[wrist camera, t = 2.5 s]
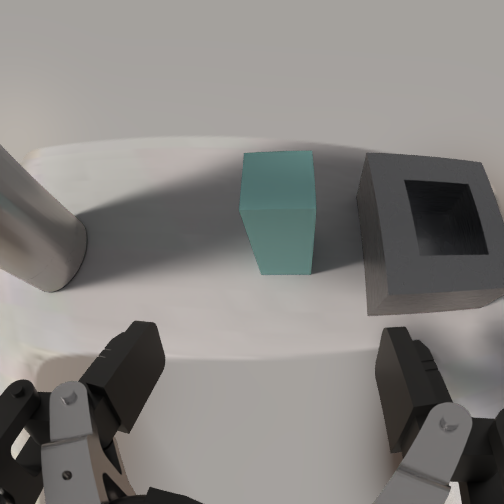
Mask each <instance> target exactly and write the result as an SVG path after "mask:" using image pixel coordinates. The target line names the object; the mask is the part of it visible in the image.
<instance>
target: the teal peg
mask: <svg viewBox="0 0 504 504" xmlns="http://www.w3.org/2000/svg"><path fill="white" fill-rule="evenodd" d="M239 212H240V215H241V218H242V220H243V223H244V226H245V229H246V232H247V235H248V238H249V241H250V243H251V246H252V249H253V252H254V255H255V258H256V261H257V264H258V266H259V269H260V272H261V275H311V267H312V256H313V245H314V234H315V221H316V194H315V180H314V167H313V155H312V151H278V152H256V153H244V160H243V170H242V181H241V192H240V203H239Z"/></svg>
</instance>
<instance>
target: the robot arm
mask: <svg viewBox="0 0 504 504" xmlns="http://www.w3.org/2000/svg"><path fill="white" fill-rule="evenodd" d="M86 245H87V235H86V230H85V227H84V225H83V224H82V223H81V221H80V220H79V219H77V218H76V217H75V216H74V215H73V214H72V213H71V212H70V211H68V210H67V209H66V208H65V207H64V206H63V205H62V204H61V203H60V202H59V201H58V200H57V199H55V198H54V197H53V196H52V195H51V194H50V193H49V192H48V191H47V190H46V189H45V188H44V187H43V186H41V185H40V184H39V183H38V182H37V181H36V180H35V179H34V178H33V177H32V176H31V175H30V174H29V173H28V172H27V171H26V170H25V169H24V168H23V167H22V166H21V165H20V164H19V163H18V162H17V161H16V160H15V159H14V158H13V157H12V156H11V155H10V154H9V153H8V152H7V151H6V150H5V149H4V148H3V147H2V146H1V145H0V268H1V269H2V270H4V271H6V272H8V273H10V274H11V275H13V276H15V277H17V278H19V279H21V280H22V281H24V282H26V283H28V284H30V285H32V286H34V287H36V288H38V289H40V290H42V291H44V292H53V291H57V290H59V289H61V288H62V287H64V286H65V285H66V284H67V283H68V282H69V281H70V280H71V279H72V278H73V277H74V275H75V274H76V272H77V271H78V269H79V267H80V265H81V263H82V261H83V258H84V255H85V251H86ZM164 366H165V354H164V350H163V347H162V343H161V340H160V336H159V332H158V329H157V326H156V324H155V323H153V322H144V321H134V322H133V323H132V324H131V325H130V326H129V328H128V329H127V330H126V331H125V332H122V333H121V334H119V335H118V336H116V337H115V338H113V339H112V340H111V341H110V342H109V343H108V345H107V346H106V347H105V350H103V351H102V352H101V353H100V354H99V357H97V358H96V359H95V361H94V362H93V363H92V364H91V366H90V367H89V368H88V369H87V371H86V372H85V374H83V376H82V377H81V378H80V380H79V381H78V382H77V381H69V382H65V383H62V384H60V385H59V386H57V387H56V388H55V389H54V390H53V392H37V390H36V389H35V387H34V386H33V384H32V383H31V382H30V381H28V380H18V381H15V382H13V383H12V384H10V385H9V386H8V387H7V388H6V390H5V391H4V392H3V393H2V395H1V396H0V504H35V503H36V501H37V499H38V497H39V495H40V493H41V491H42V489H43V487H44V493H45V501H46V504H203V503H200V502H198V501H196V500H193V499H191V498H189V497H187V496H184V495H180V494H175V493H171V492H167V491H163V490H159V489H155V488H152V487H149V490H148V492H147V495H136V493H135V492H134V490H133V488H132V486H131V485H130V483H129V481H128V478H127V475H126V472H125V469H124V465H123V462H122V459H121V455H120V452H119V448H118V444H117V441H116V438H115V437H114V435H115V434H116V432H117V430H118V431H121V432H124V433H128V434H129V433H130V431H131V429H132V428H133V426H134V424H135V422H136V420H137V418H138V416H139V414H140V412H141V411H142V409H143V407H144V405H145V403H146V401H147V399H148V397H149V396H150V394H151V392H152V390H153V388H154V386H155V384H156V383H157V381H158V379H159V377H160V375H161V374H162V372H163V370H164ZM375 376H376V382H377V386H378V390H379V395H380V400H381V405H382V409H383V414H384V419H385V424H386V429H387V435H388V440H389V446H390V452H391V453H397V452H402V456H403V460H402V462H401V464H400V465H399V467H398V468H397V470H396V471H395V473H394V474H393V476H392V477H391V479H390V481H389V482H388V483H387V485H386V486H385V487H384V489H383V490H382V492H381V493H380V495H379V496H378V497H377V498H376V500H375V501H374V502H373V504H444V503H445V501H446V499H447V497H448V495H449V492H450V489H451V486H449V482H450V481H451V482H458V483H459V488H460V494H461V501H462V504H504V409H502V410H501V411H500V412H499V414H498V415H497V417H496V418H495V419H488V418H473V417H471V415H470V413H469V412H468V411H467V410H466V409H465V408H464V407H463V406H461V405H459V404H456V403H453V402H452V399H451V397H450V395H449V392H448V390H447V387H446V385H445V383H444V381H443V378H442V376H441V374H440V372H439V371H438V367H437V365H436V363H435V362H434V359H433V357H432V354H431V352H430V350H429V349H428V348H427V347H426V346H425V345H424V344H423V343H422V342H421V341H419V340H415V341H412V339H411V337H410V335H409V332H408V330H407V328H406V327H392V328H384V329H383V332H382V336H381V341H380V346H379V351H378V355H377V360H376V365H375ZM23 428H25V430H26V431H27V432H28V433H29V435H30V437H29V439H28V440H27V442H26V444H25V445H24V447H23V448H22V450H21V451H20V453H19V455H18V456H17V458H16V460H15V459H14V458H13V457H12V455H11V446H12V444H13V443H14V441H15V440H16V438H17V437H18V435H19V434H20V432H21V431H22V429H23Z"/></svg>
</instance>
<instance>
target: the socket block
mask: <svg viewBox="0 0 504 504" xmlns="http://www.w3.org/2000/svg"><path fill="white" fill-rule="evenodd" d="M357 203H358V211H359V219H360V227H361V236H362V245H363V255H364V266H365V279H366V294H367V314H368V316H378V315H399V314H415V313H430V312H443V311H454V310H465V309H475V308H481V307H483V306H485V305H487V304H489V303H490V302H492V301H494V300H496V299H498V298H499V297H501V296H503V295H504V223H503V220H502V217H501V214H500V211H499V208H498V205H497V202H496V199H495V196H494V193H493V190H492V188H491V185H490V182H489V180H488V177H487V175H486V172H485V170H484V167H483V165H482V163H481V162H473V161H466V160H457V159H448V158H439V157H428V156H417V155H416V156H415V155H403V154H385V153H366V158H365V162H364V167H363V171H362V175H361V180H360V184H359V188H358V192H357Z"/></svg>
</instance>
